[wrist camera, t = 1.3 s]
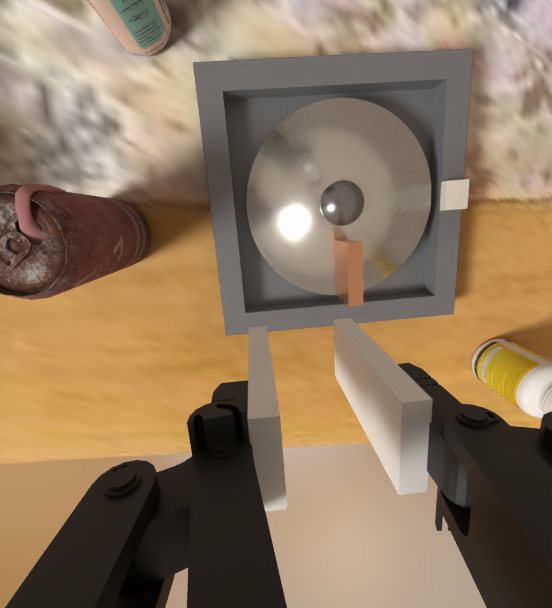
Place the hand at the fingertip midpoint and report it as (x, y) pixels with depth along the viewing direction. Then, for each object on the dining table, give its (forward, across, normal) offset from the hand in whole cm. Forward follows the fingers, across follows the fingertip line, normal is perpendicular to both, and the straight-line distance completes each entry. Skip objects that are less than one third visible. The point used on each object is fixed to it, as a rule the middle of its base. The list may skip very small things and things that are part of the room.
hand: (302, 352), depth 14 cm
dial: (+17, +6, +7) cm, 19 cm away
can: (+19, -14, +6) cm, 24 cm away
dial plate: (+19, +6, +6) cm, 21 cm away
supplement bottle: (+19, +24, -12) cm, 33 cm away
